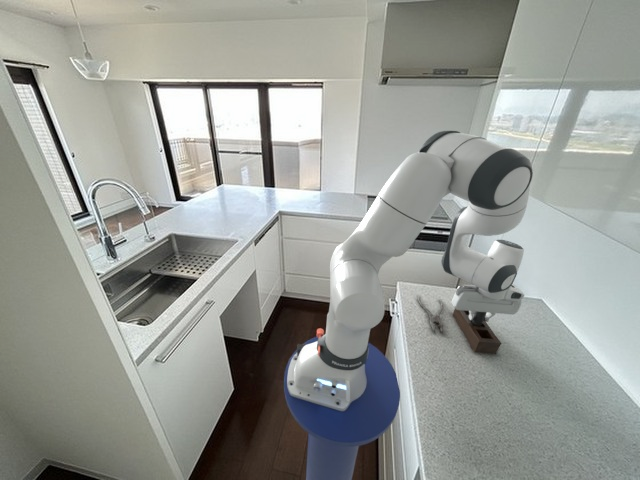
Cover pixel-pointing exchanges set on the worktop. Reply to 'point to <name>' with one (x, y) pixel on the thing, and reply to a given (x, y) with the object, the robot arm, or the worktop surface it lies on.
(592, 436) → the worktop surface
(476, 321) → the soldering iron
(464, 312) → the holder
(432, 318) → the pliers
